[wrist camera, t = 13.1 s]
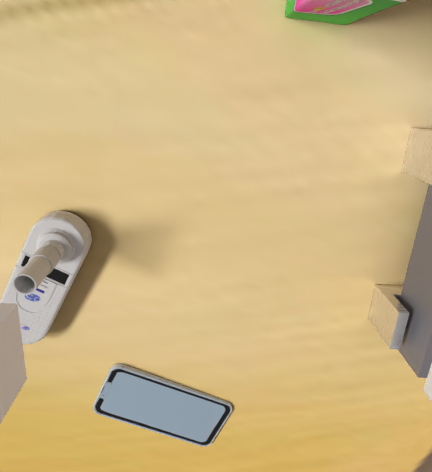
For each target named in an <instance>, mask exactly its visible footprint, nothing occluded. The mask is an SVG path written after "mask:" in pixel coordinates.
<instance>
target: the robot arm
mask: <svg viewBox="0 0 432 472" xmlns="http://www.w3.org/2000/svg"><path fill="white" fill-rule="evenodd" d="M26 379H27V376H26V368H25V360H24V352H23V344H22V336H21V328H20V321H19V313H18V305H17V304H13V303H0V423H1V422H2V420H3V418H4V417H5V415H6V413H7V411H8V410H9V408H10V406H11V405H12V403H13V401H14V400H15V398H16V396H17V394H18V393H19V391H20V389H21V388H22V386H23V384H24V383H25V381H26ZM423 391H424V392H425V393H426V395H427V396H428V398H429V399H430V400H431V402H432V363H431V367H430V370H429V373H428V376H427V380H426V383H425V386H424V389H423Z"/></svg>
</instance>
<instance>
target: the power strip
mask: <svg viewBox="0 0 432 472" xmlns="http://www.w3.org/2000/svg"><path fill="white" fill-rule="evenodd" d="M399 302H400V303H401V304H402V305H403V306H404V307H405V308H406V310H407V311H408V312H409V317H408V321H407V325H406V328H405V332H404V336H403V339H402V343H401V347H400V349H398V350H399V352H400V353H401V354H402V356H403V357H404V358H405V360H406V361H407V362H408V364H409V365H410V367H411V368H412V369H413V371H414V372H415V373H416V375H417V376H418V377H422V378H427V376H428V373H429V370H430V367H431V363H432V185H430V184H429V187H428V191H427V195H426V199H425V203H424V207H423V211H422V215H421V218H420V222H419V226H418V230H417V234H416V238H415V242H414V246H413V250H412V254H411V258H410V262H409V265H408V269H407V273H406V277H405V281H404V285H403V289H402V293H401V297H400V301H399Z"/></svg>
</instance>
